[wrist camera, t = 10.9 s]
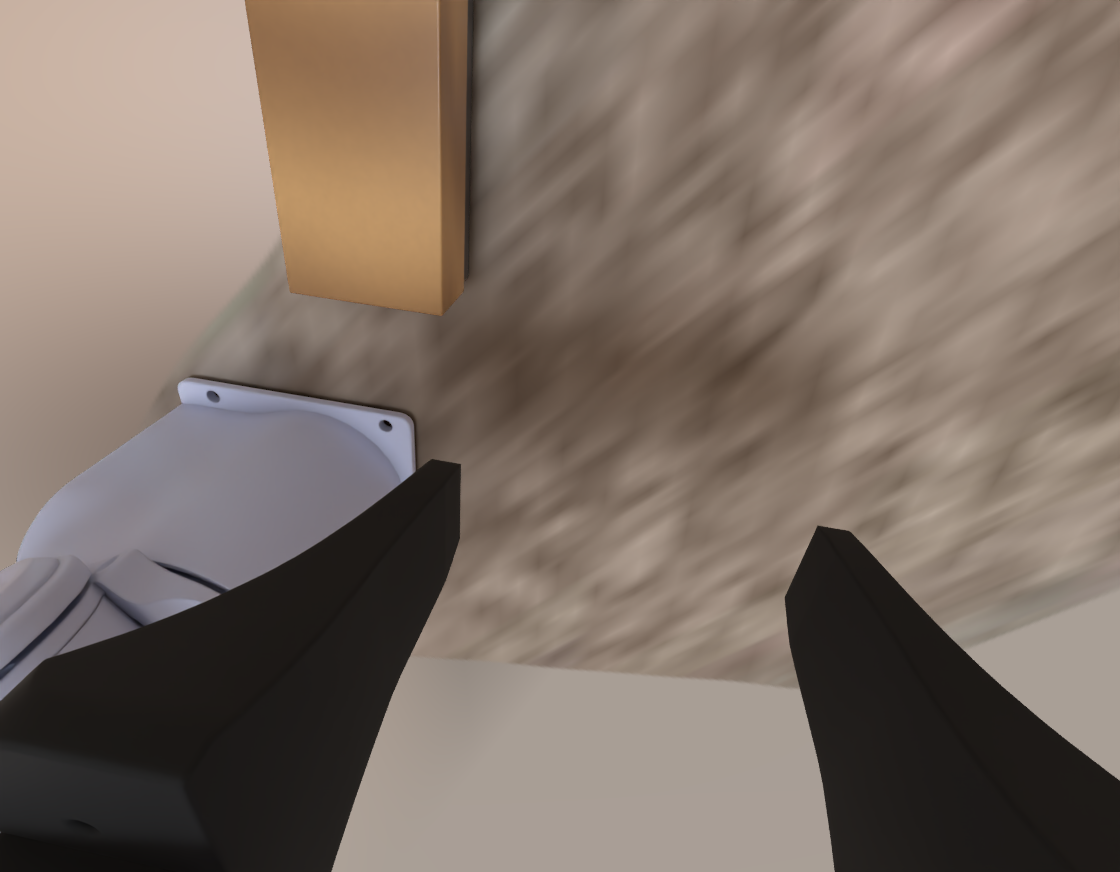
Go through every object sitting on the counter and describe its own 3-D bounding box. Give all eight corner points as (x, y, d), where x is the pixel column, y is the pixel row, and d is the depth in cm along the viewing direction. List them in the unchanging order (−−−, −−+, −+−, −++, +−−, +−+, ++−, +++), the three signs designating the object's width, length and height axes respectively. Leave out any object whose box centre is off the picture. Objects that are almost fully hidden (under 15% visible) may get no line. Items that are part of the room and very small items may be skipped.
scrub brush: (476, 278, 19) (442, 317, 16) (346, 259, 20) (289, 293, 16) (488, -193, 13) (438, -271, 10) (300, -211, 14) (198, -291, 11)
